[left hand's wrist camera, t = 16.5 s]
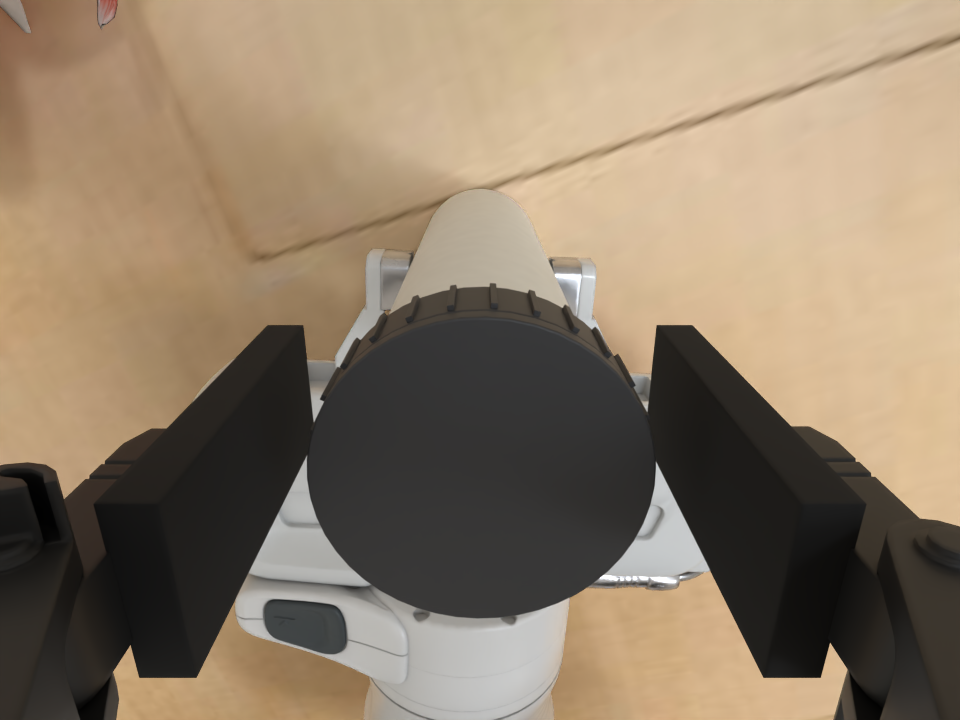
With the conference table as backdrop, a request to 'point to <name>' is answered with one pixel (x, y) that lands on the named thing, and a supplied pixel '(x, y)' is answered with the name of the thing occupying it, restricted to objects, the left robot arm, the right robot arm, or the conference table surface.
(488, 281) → the jar
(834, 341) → the conference table surface
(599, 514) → the lid
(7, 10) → the fish
